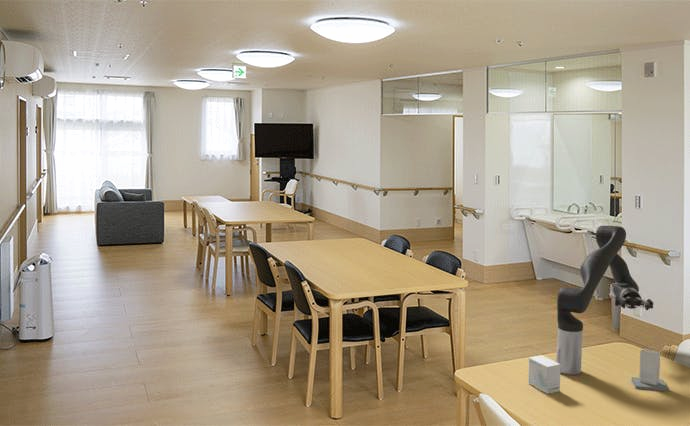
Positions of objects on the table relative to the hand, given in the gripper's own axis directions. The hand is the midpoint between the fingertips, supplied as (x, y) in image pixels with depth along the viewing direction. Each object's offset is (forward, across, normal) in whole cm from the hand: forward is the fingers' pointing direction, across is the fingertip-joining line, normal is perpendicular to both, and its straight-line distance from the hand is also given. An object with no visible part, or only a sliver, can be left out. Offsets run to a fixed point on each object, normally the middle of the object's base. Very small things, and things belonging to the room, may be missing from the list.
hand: (635, 306), depth 258 cm
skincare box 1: (+35, -34, +25) cm, 55 cm away
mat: (+22, +3, +24) cm, 33 cm away
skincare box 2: (+22, +3, +23) cm, 32 cm away
